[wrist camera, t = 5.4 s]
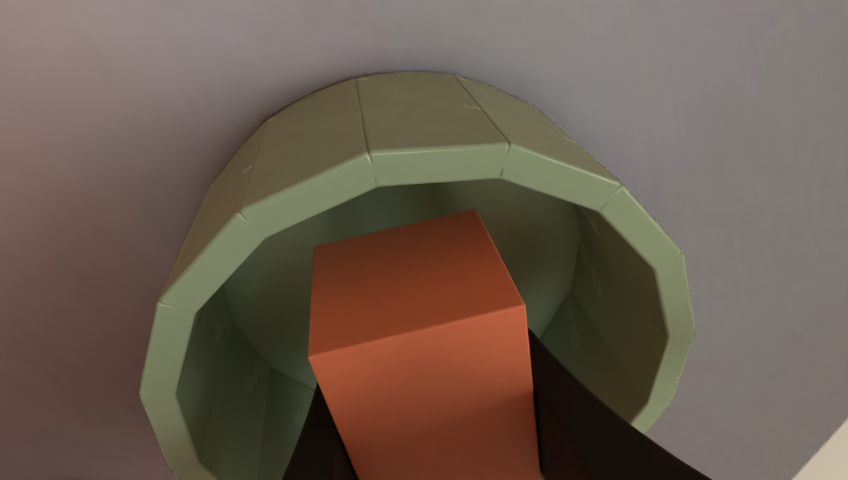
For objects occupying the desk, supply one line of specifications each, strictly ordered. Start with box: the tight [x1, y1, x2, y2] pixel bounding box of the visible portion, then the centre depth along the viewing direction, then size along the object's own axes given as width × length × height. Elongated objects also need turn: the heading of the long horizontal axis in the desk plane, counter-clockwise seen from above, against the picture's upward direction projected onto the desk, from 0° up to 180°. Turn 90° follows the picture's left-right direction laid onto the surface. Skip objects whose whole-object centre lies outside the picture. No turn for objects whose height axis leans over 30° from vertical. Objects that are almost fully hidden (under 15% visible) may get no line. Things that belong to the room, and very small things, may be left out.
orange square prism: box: [308, 209, 541, 480], centre depth 12 cm, size 7×4×4 cm, turn 10°
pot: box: [139, 71, 695, 480], centre depth 14 cm, size 12×12×5 cm
